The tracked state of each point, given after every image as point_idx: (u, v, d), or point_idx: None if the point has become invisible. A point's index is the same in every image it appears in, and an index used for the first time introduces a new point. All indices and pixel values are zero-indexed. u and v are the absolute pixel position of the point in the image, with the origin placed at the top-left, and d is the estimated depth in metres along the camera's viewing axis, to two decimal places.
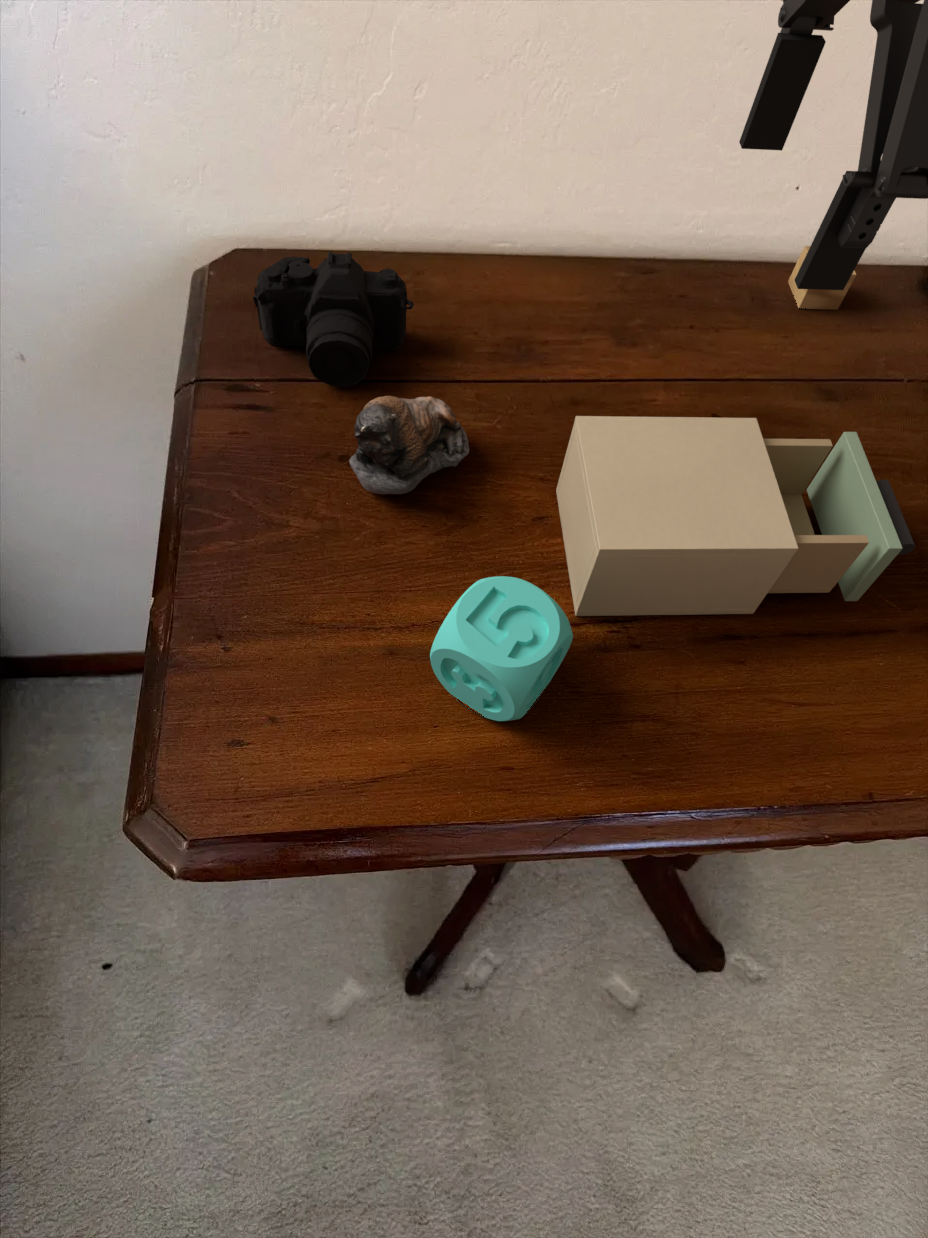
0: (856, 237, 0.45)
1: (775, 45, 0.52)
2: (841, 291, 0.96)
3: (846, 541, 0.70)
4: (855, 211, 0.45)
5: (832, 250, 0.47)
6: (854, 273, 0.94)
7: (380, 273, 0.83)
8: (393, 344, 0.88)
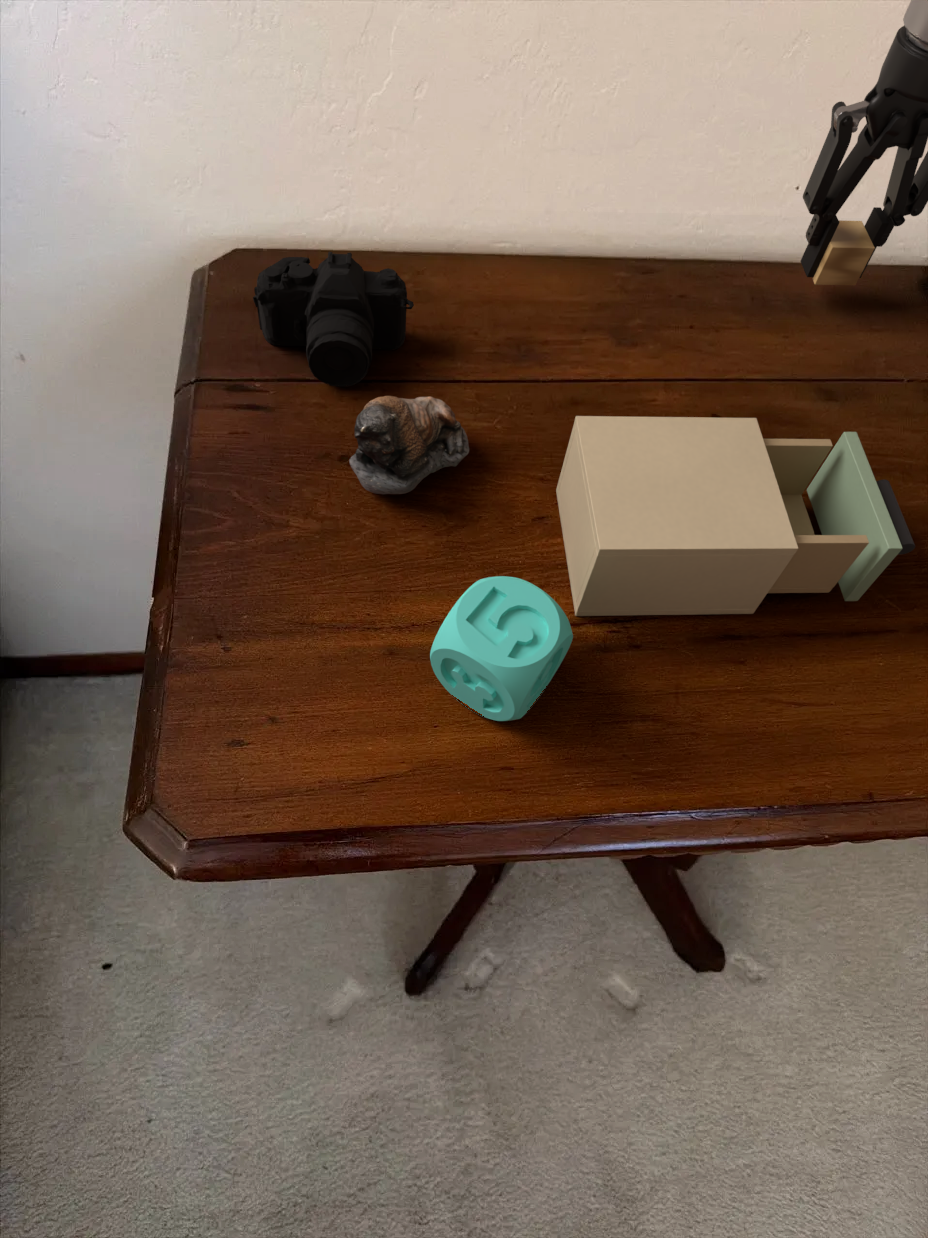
0: None
1: (832, 227, 0.90)
2: (859, 266, 0.93)
3: (846, 541, 0.70)
4: (887, 230, 0.91)
5: None
6: (872, 246, 0.91)
7: (380, 273, 0.83)
8: (393, 344, 0.88)
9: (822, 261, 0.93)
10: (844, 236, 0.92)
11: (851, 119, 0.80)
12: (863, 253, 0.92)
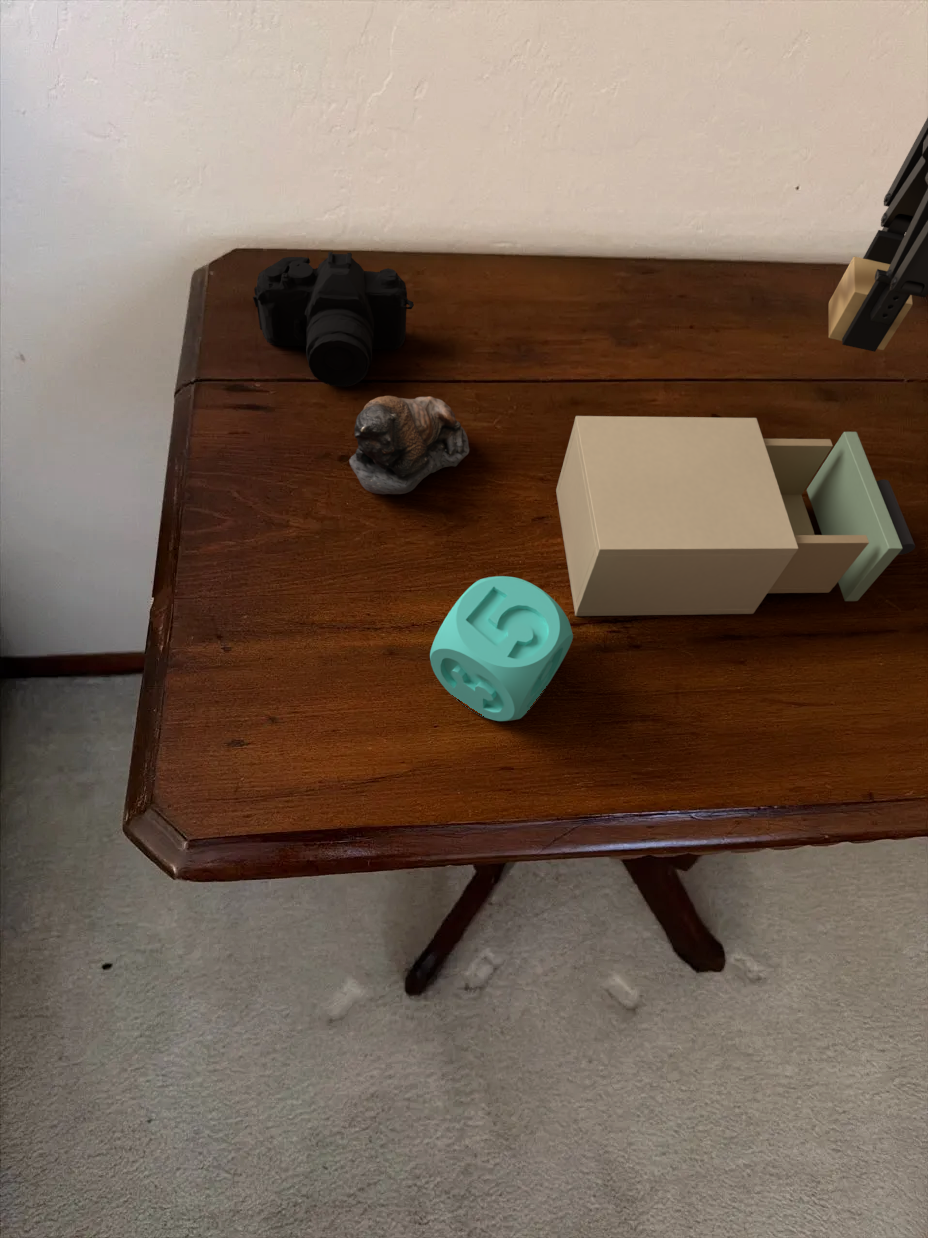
0: None
1: None
2: None
3: (846, 541, 0.70)
4: None
5: None
6: None
7: (380, 273, 0.83)
8: (393, 344, 0.88)
9: None
10: None
11: None
12: None
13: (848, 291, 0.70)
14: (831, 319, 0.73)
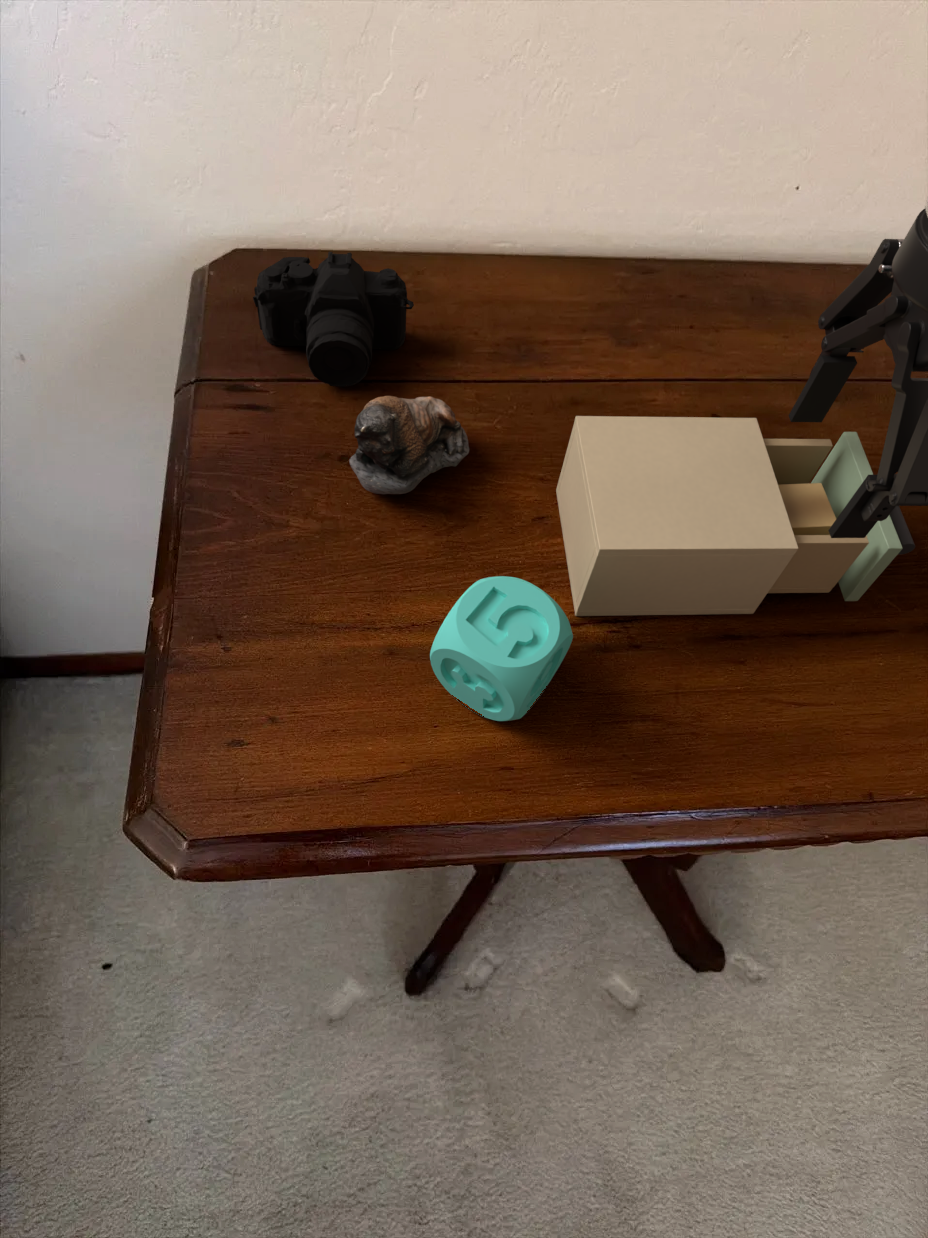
0: None
1: None
2: None
3: (846, 541, 0.70)
4: None
5: None
6: (820, 484, 0.75)
7: (380, 273, 0.83)
8: (393, 344, 0.88)
9: None
10: (812, 509, 0.74)
11: None
12: None
13: None
14: None
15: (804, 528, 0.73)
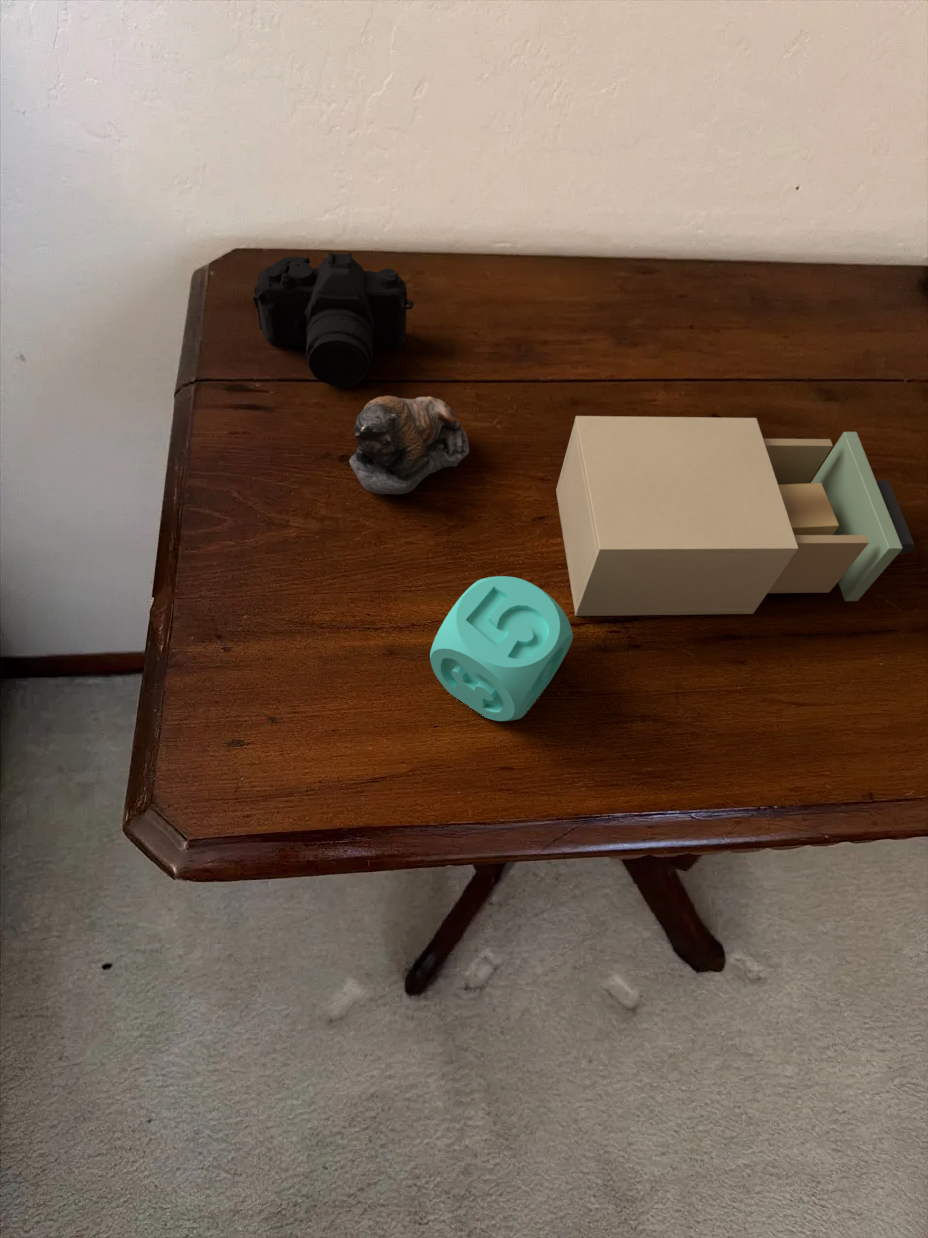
0: None
1: None
2: None
3: (846, 541, 0.70)
4: None
5: None
6: (820, 484, 0.75)
7: (380, 273, 0.83)
8: (393, 344, 0.88)
9: None
10: (812, 509, 0.74)
11: None
12: None
13: None
14: None
15: (804, 528, 0.73)
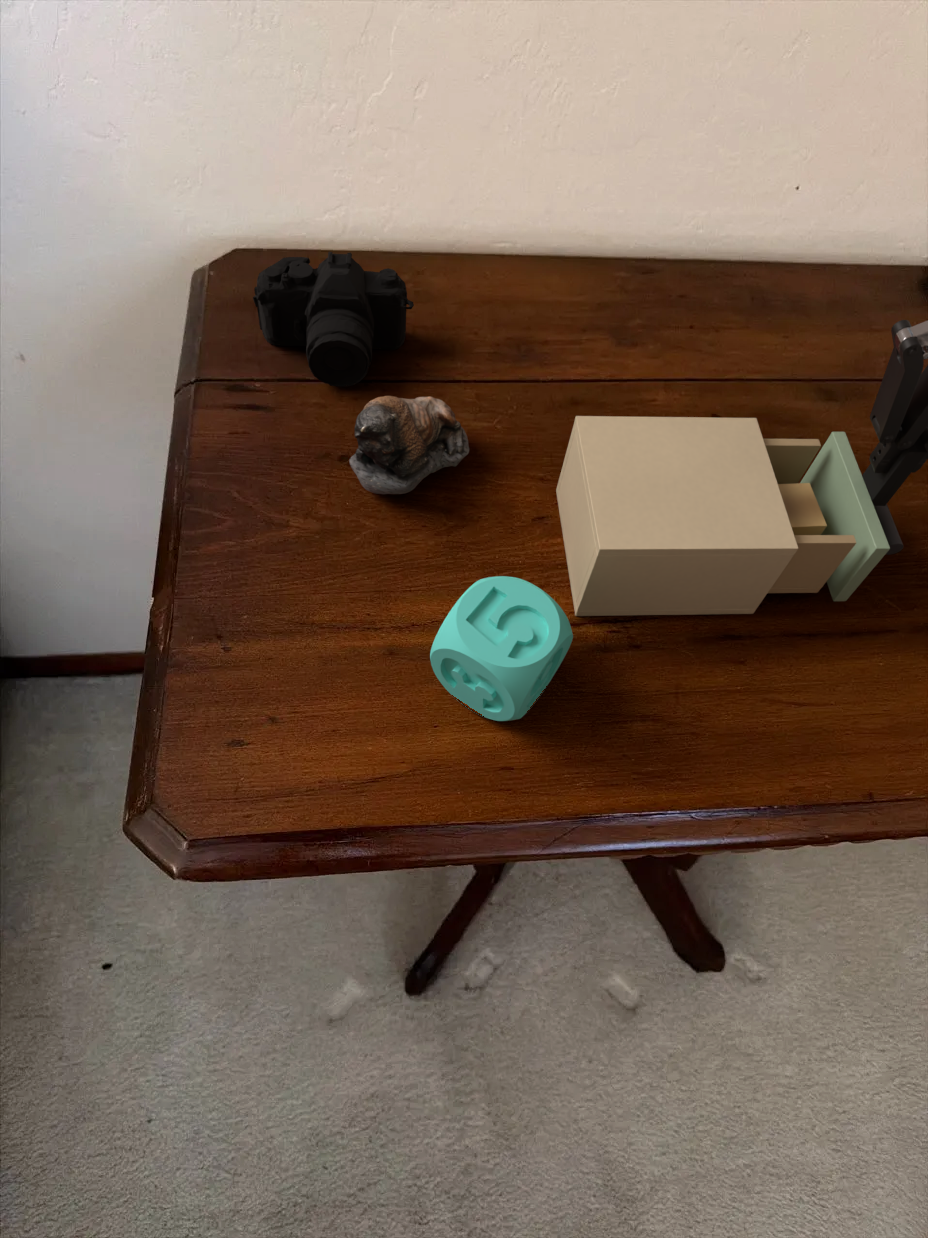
0: None
1: (908, 457, 0.67)
2: None
3: (833, 541, 0.70)
4: (923, 456, 0.69)
5: None
6: (808, 484, 0.75)
7: (380, 273, 0.83)
8: (393, 344, 0.88)
9: None
10: (800, 509, 0.73)
11: (919, 347, 0.58)
12: None
13: None
14: None
15: (792, 528, 0.73)
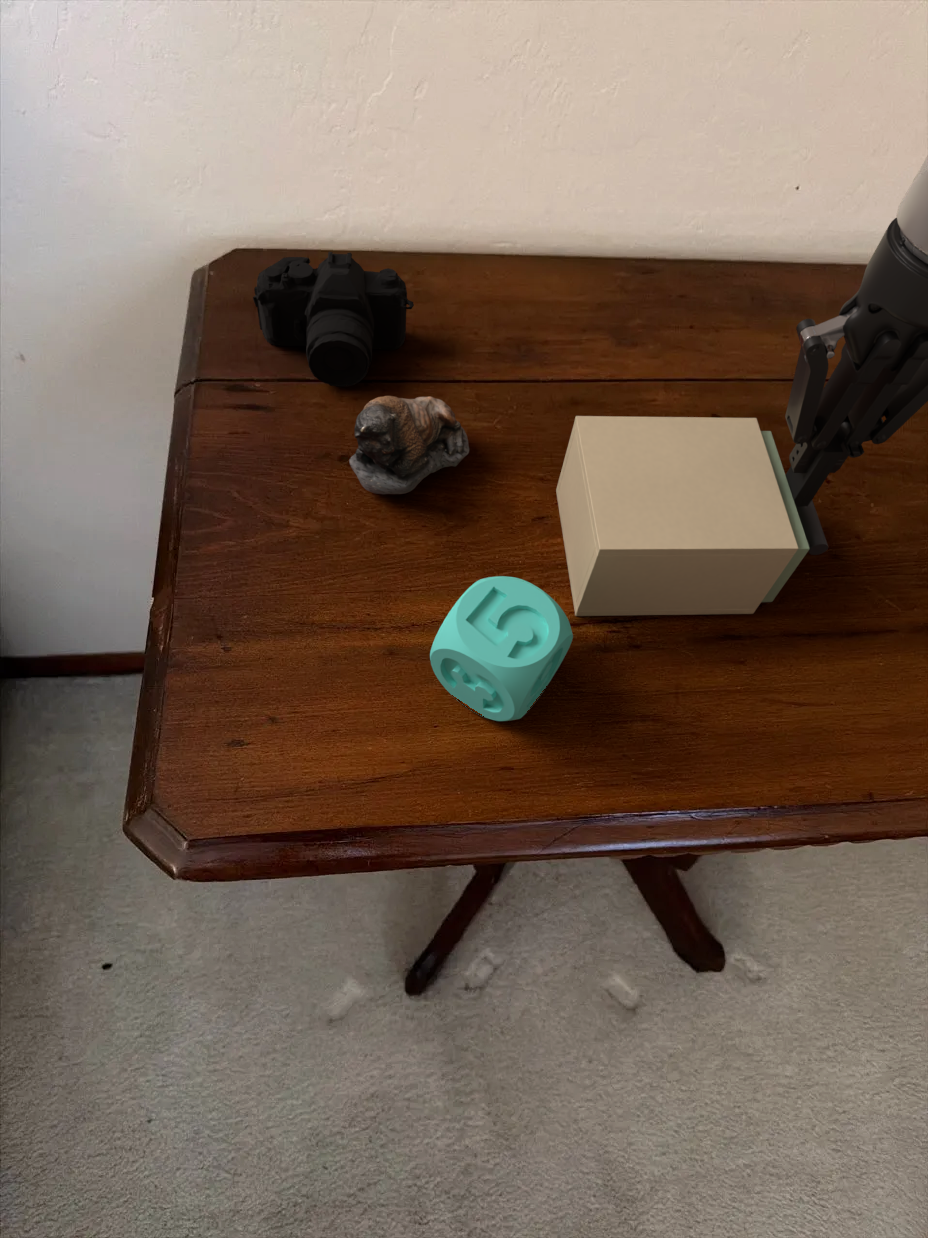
0: None
1: (824, 457, 0.67)
2: None
3: None
4: (841, 457, 0.68)
5: None
6: None
7: (380, 273, 0.83)
8: (393, 344, 0.88)
9: None
10: None
11: (822, 347, 0.57)
12: None
13: None
14: None
15: None
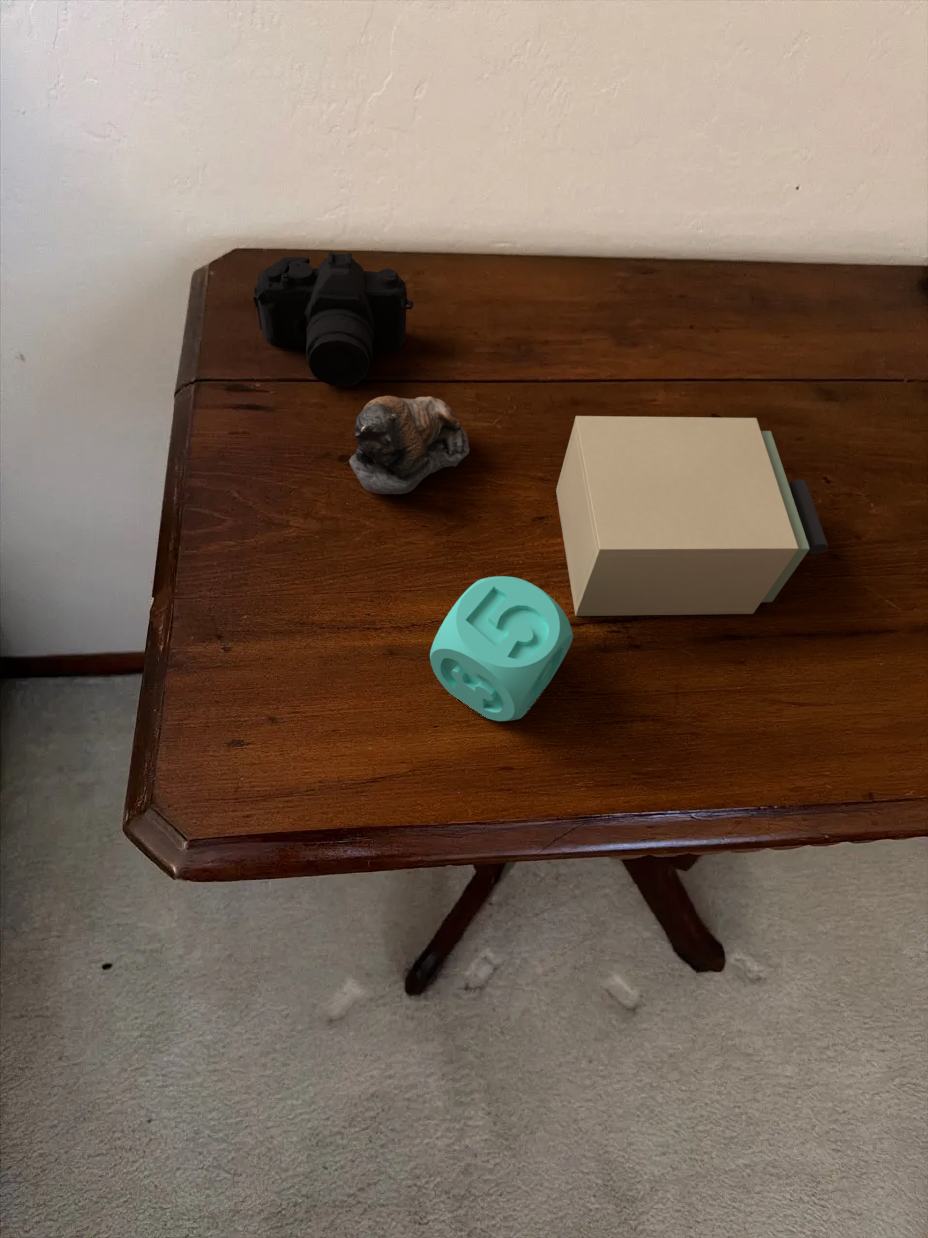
0: None
1: None
2: None
3: None
4: None
5: None
6: None
7: (380, 273, 0.83)
8: (393, 344, 0.88)
9: None
10: None
11: None
12: None
13: None
14: None
15: None
